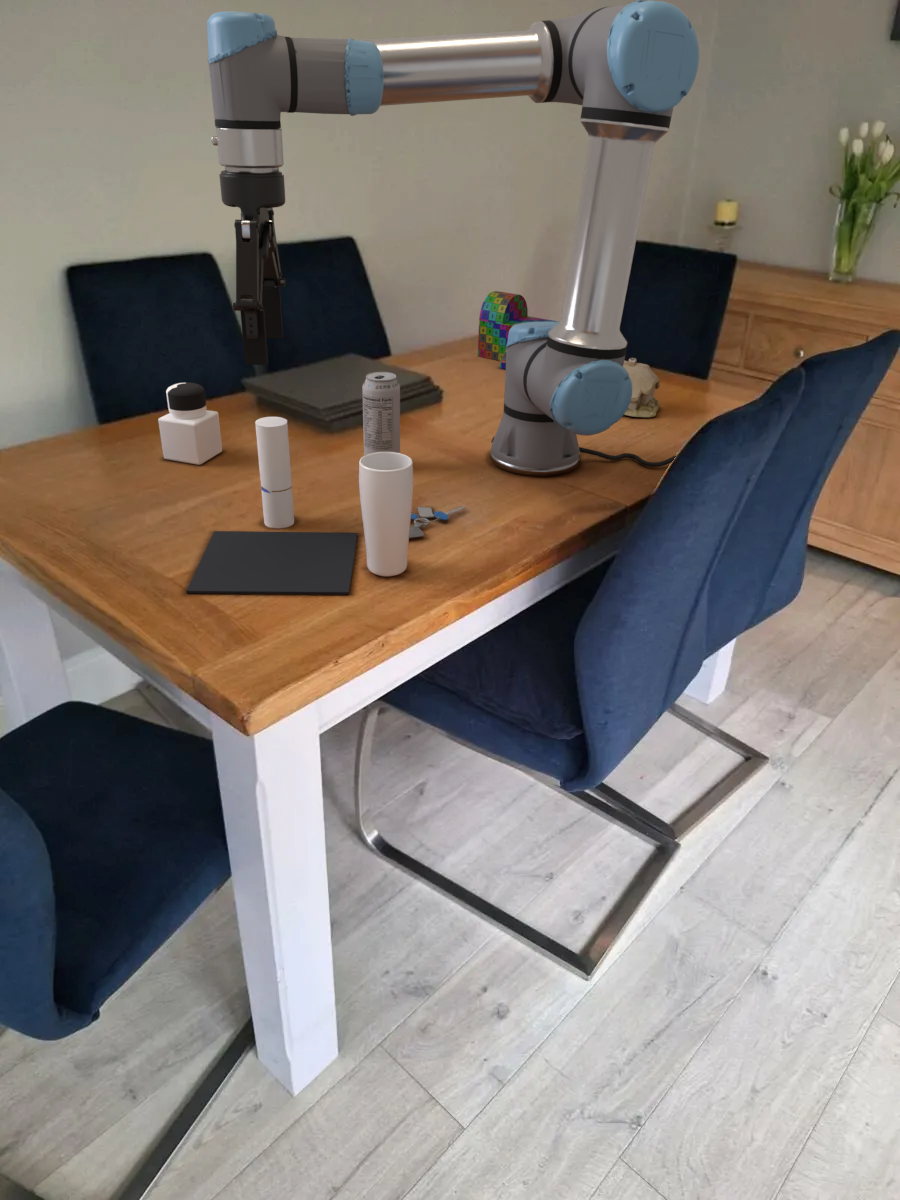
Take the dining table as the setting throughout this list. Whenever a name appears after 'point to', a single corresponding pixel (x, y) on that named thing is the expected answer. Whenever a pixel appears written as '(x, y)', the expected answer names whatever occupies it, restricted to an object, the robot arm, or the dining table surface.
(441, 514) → the key chain
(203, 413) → the medicine bottle
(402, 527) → the drinking glass
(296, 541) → the charcoal mat
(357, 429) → the dining table surface
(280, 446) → the tube
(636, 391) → the ceramic model
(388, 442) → the energy drink can
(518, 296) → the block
